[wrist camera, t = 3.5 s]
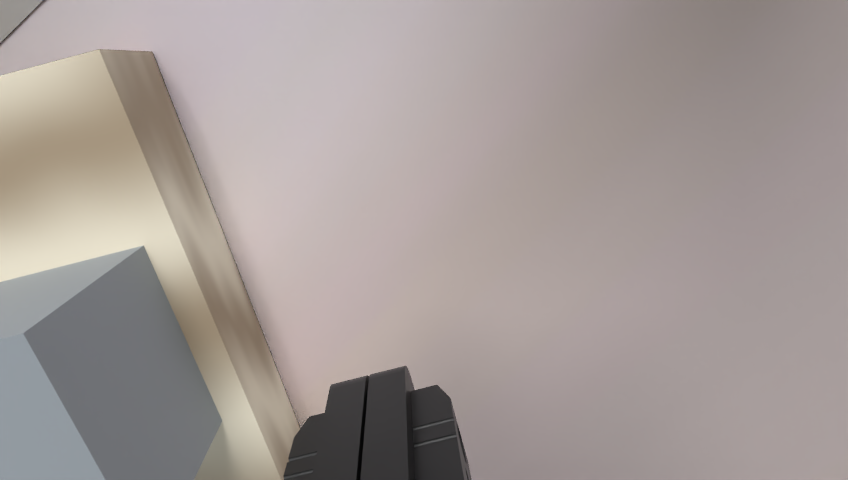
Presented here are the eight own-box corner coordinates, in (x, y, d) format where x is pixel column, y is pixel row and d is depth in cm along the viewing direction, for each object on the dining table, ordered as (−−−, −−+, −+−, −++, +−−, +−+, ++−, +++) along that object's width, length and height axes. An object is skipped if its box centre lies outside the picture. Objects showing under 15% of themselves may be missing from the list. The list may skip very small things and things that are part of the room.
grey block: (-95, 306, 15) (-326, 421, 10) (143, 245, 15) (23, 333, 10) (10, 472, 17) (-142, 634, 12) (222, 420, 17) (152, 564, 12)
